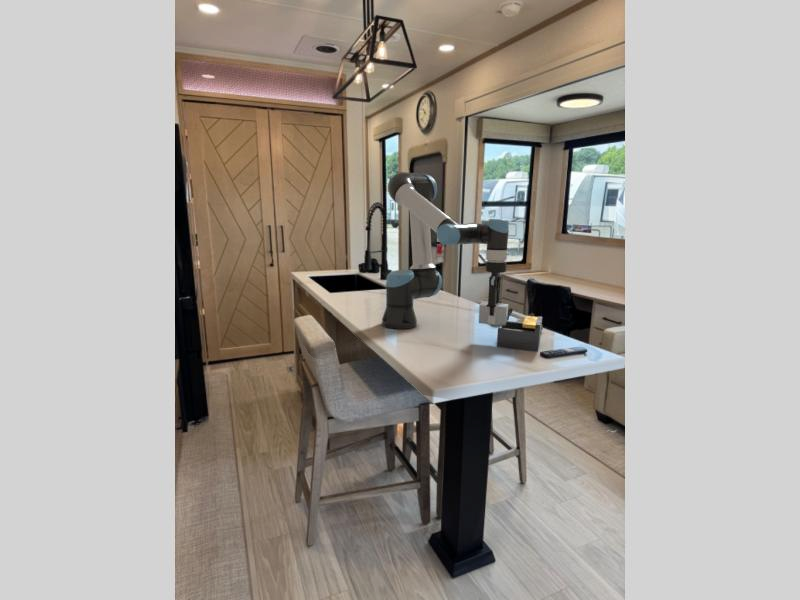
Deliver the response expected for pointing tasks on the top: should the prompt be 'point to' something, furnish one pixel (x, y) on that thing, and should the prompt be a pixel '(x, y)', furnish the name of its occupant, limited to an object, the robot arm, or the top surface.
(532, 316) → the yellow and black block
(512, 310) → the rock
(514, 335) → the dark grey open box
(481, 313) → the block
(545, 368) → the top surface
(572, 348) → the top surface
